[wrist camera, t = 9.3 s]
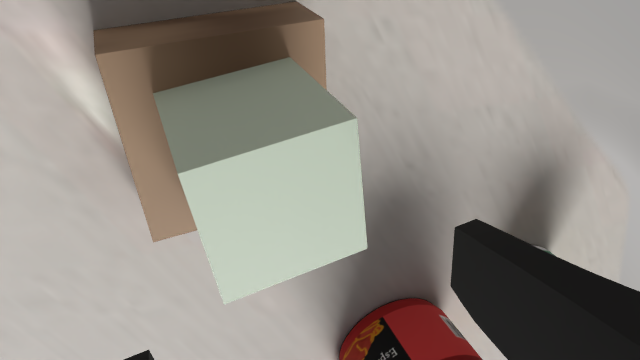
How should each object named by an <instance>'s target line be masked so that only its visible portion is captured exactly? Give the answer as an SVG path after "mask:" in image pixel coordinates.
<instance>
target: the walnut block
mask: <svg viewBox="0 0 640 360" xmlns="http://www.w3.org/2000/svg"><path fill="white" fill-rule="evenodd" d="M93 32H94V48H95V57H96V60H97V63H98V66H99V70H100V73H101V76H102V79H103V82H104V86H105V89H106V92H107V95H108V98H109V102H110V105H111V108H112V111H113V114H114V118H115V121H116V124H117V127H118V130H119V134H120V137H121V140H122V143H123V147H124V150H125V153H126V156H127V159H128V163H129V166H130V169H131V172H132V175H133V179H134V182H135V185H136V188H137V191H138V195H139V198H140V201H141V204H142V207H143V211H144V214H145V217H146V220H147V224H148V227H149V230H150V233H151V236H152V240H153V242H156V241H160V240H163V239H167V238H170V237H174V236H178V235H181V234H185V233H189V232H192V231H196V230H197V227H196V224H195V221H194V219H193V216H192V213H191V210H190V207H189V204H188V202H187V199H186V196H185V193H184V190H183V188H182V185H181V182H180V179H179V176H178V173H177V170H176V167H175V164H174V160H173V157H172V154H171V151H170V148H169V144H168V141H167V138H166V135H165V131H164V128H163V125H162V122H161V118H160V115H159V112H158V109H157V106H156V102H155V99H154V96H153V93H156V92H160V91H164V90H167V89H171V88H175V87H179V86H183V85H186V84H190V83H194V82H198V81H201V80H205V79H209V78H213V77H217V76H220V75H224V74H228V73H232V72H235V71H239V70H243V69H247V68H250V67H254V66H258V65H262V64H266V63H269V62H273V61H277V60H281V59H284V58H288V57H290V58H292V59H293V60H294V61H295V62H296V63H297V64H298V65H299V66H300V67H301V68H303V69H304V70H305V71H306V72H307V73H308V74H309V75H310V76H311V77H312V78H314V79H315V80H316V81H317V82H318V83H319V84H320V85H321V86H322V87H323V88H325V89H326V64H325V33H324V19H323V18H322V17H320V16H319V15H317V14H315V13H314V12H312V11H311V10H309V9H308V8H306V7H304V6H303V5H301V4H300V3H298V2H297V1H296V2H289V3H282V4H275V5H268V6H261V7H254V8H247V9H240V10H233V11H226V12H219V13H212V14H205V15H198V16H191V17H184V18H177V19H170V20H163V21H156V22H149V23H142V24H135V25H128V26H121V27H114V28H107V29H100V30H93Z"/></svg>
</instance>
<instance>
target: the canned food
mask: <svg viewBox="0 0 640 360" xmlns="http://www.w3.org/2000/svg"><path fill="white" fill-rule="evenodd" d="M339 360H482V358H481V357H480V356H479V355H478V354H477V352H476V351H475V350H474V349H473V347H472V346H471V345H470V344H469V343H468V341H467V340H466V339H465V338H464V337H463V335H462V334H461V333H460V332H459V330H458V329H457V328H456V327H455V326H454V324H453V323H452V322H451V321H450V319H449V318H448V317H447V316H446V315H445V313H444V312H443V311H442V310H441V309H439V308H438V307H436V306H435V305H433V304H432V303H430V302H428V301H426V300H423V299H416V298H409V299H403V300H398V301H394V302H391V303H388V304H386V305H384V306H382V307H379V308H378V309H376V310H374V311H373V312H371V313H370V314H368V315H367V316H366V317H364V318H363V319H362V320H361V321H360V322H359V323H358V324H357V325H356V326H355V327H354V328H353V329H352V330H351V331H350V333H349V334H348V335H347V337H346V339H345V340H344V342H343V344H342V347H341V350H340V355H339Z"/></svg>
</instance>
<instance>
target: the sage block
mask: <svg viewBox="0 0 640 360" xmlns="http://www.w3.org/2000/svg"><path fill="white" fill-rule="evenodd" d="M153 96H154V99H155V102H156V106H157V109H158V112H159V115H160V118H161V122H162V125H163V128H164V131H165V135H166V138H167V141H168V144H169V148H170V151H171V154H172V157H173V160H174V164H175V167H176V170H177V173H178V176H179V179H180V182H181V185H182V188H183V190H184V193H185V196H186V199H187V202H188V204H189V207H190V210H191V213H192V216H193V219H194V221H195V224H196V227H197V230H198V233H199V235H200V238H201V241H202V244H203V247H204V249H205V252H206V255H207V258H208V261H209V264H210V266H211V269H212V272H213V275H214V278H215V280H216V283H217V286H218V289H219V292H220V294H221V297H222V300H223V303H224V305H225V304H227V303H230V302H232V301H235V300H237V299H240V298H242V297H245V296H248V295H250V294H253V293H255V292H258V291H260V290H263V289H265V288H268V287H271V286H273V285H276V284H278V283H281V282H283V281H286V280H288V279H291V278H294V277H296V276H299V275H301V274H304V273H306V272H309V271H312V270H314V269H317V268H319V267H322V266H324V265H327V264H329V263H332V262H335V261H337V260H340V259H342V258H345V257H347V256H350V255H352V254H355V253H358V252H360V251H363V250H365V249H367V237H366V224H365V212H364V199H363V186H362V174H361V161H360V149H359V136H358V123H357V118H356V117H355V116H354V115H353V114H352V113H351V112H350V111H349V110H348V109H347V108H345V107H344V106H343V105H342V104H341V103H340V102H339V101H338V100H337V99H336V98H334V97H333V96H332V95H331V94H330V93H329V92H328V91H327V90H326V89H325V88H323V87H322V86H321V85H320V84H319V83H318V82H317V81H316V80H315V79H314V78H312V77H311V76H310V75H309V74H308V73H307V72H306V71H305V70H304V69H303V68H301V67H300V66H299V65H298V64H297V63H296V62H295V61H294V60H293V59H292V58H290V57H288V58H284V59H281V60H277V61H273V62H269V63H266V64H262V65H258V66H254V67H250V68H247V69H243V70H239V71H235V72H232V73H228V74H224V75H220V76H217V77H213V78H209V79H205V80H201V81H198V82H194V83H190V84H186V85H183V86H179V87H175V88H171V89H167V90H164V91H160V92H156V93H153Z"/></svg>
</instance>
